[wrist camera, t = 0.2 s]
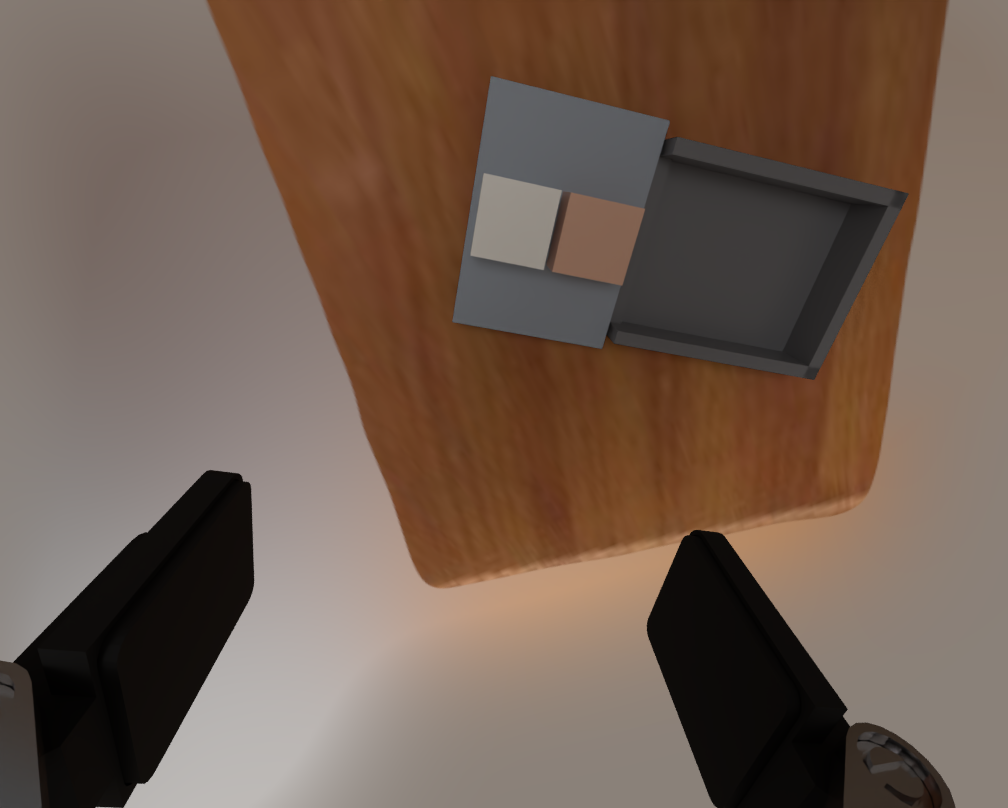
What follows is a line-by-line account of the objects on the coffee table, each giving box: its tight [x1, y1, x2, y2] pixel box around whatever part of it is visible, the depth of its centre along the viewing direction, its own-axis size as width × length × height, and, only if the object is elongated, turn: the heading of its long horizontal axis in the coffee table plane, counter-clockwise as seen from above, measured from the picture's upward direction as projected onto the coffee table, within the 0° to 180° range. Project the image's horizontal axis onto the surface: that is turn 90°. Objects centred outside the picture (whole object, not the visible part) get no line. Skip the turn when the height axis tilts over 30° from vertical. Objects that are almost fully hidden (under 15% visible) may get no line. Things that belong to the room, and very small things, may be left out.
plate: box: [452, 76, 670, 349], centre depth 35 cm, size 16×12×2 cm
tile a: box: [470, 173, 562, 270], centre depth 32 cm, size 5×5×3 cm
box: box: [607, 137, 908, 380], centre depth 36 cm, size 14×17×4 cm
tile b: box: [546, 191, 645, 286], centre depth 33 cm, size 5×5×3 cm
